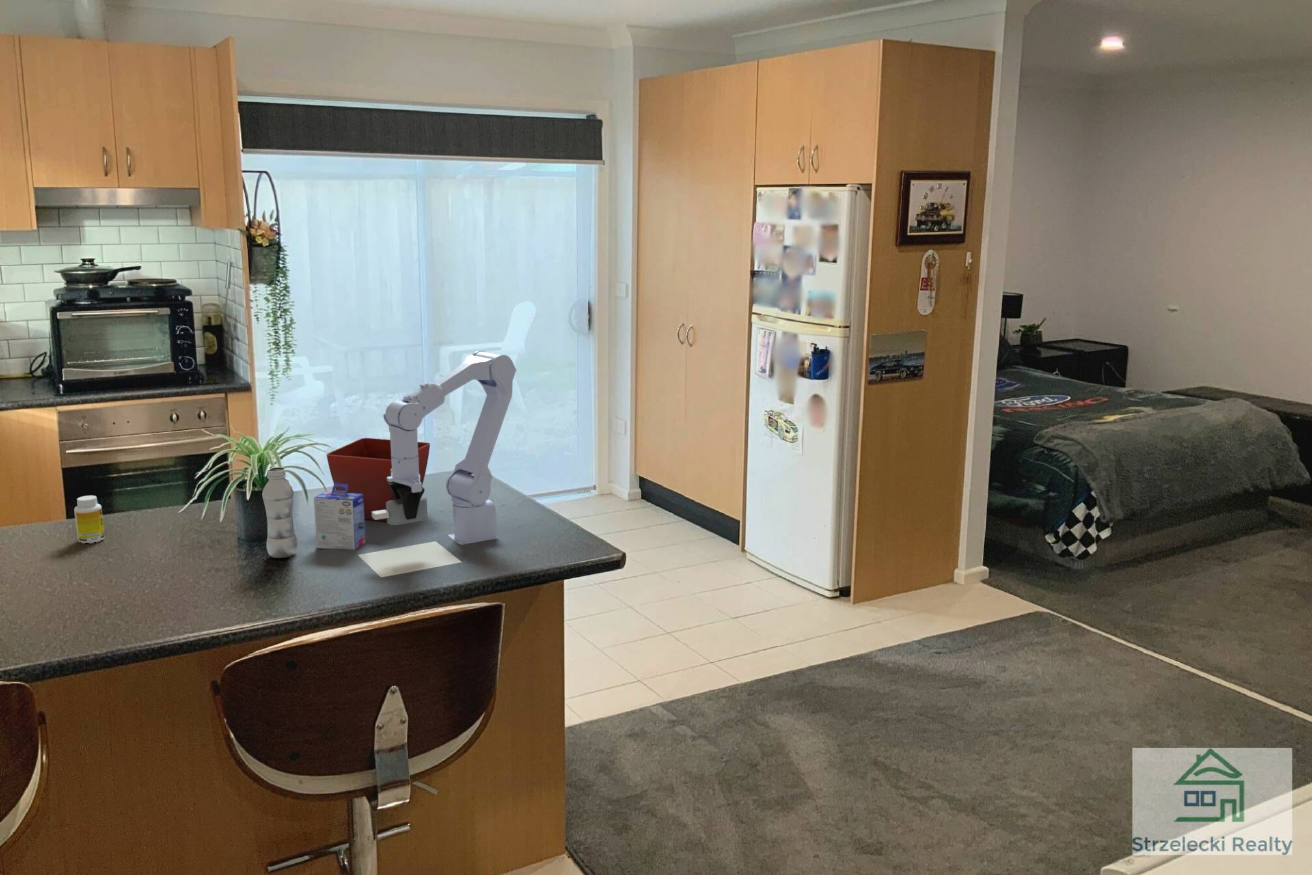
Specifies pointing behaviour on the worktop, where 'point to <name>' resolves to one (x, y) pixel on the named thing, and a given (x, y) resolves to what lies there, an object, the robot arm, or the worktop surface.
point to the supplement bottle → (89, 520)
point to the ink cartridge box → (339, 519)
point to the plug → (401, 512)
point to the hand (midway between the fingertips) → (407, 515)
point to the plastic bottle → (279, 514)
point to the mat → (408, 559)
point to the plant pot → (369, 470)
